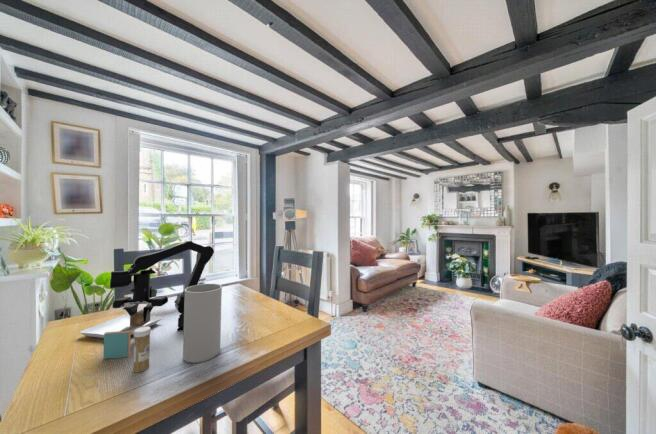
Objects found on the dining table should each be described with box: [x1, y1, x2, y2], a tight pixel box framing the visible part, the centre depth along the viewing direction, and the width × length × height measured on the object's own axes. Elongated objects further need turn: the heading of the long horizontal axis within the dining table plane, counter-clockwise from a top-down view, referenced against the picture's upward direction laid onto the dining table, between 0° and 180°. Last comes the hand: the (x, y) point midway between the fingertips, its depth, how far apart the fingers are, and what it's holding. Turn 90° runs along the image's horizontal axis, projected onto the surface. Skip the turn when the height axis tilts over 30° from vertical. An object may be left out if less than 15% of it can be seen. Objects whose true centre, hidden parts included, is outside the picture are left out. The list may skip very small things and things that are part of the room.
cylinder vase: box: [182, 283, 223, 364], centre depth 93 cm, size 12×12×25 cm
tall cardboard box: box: [121, 308, 152, 335], centre depth 102 cm, size 6×13×5 cm, turn 9°
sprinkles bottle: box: [132, 326, 152, 373], centre depth 83 cm, size 5×5×13 cm
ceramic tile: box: [103, 331, 132, 360], centre depth 90 cm, size 8×2×9 cm, turn 99°
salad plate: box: [79, 313, 163, 339], centre depth 112 cm, size 21×21×3 cm
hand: (140, 322), depth 104 cm, fingers closed on tall cardboard box, 3 cm apart
